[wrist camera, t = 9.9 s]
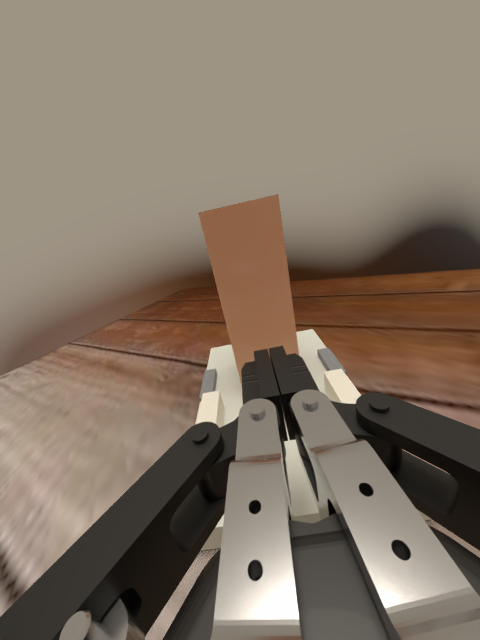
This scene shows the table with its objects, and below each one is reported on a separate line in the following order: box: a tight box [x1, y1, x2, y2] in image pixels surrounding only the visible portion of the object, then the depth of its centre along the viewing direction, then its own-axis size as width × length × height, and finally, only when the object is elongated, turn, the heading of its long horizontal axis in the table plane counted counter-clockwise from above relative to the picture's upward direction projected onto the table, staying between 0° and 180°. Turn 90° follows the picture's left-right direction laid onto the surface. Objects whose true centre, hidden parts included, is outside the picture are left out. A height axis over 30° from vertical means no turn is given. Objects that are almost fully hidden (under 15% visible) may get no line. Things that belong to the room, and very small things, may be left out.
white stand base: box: [195, 329, 431, 551], centre depth 22 cm, size 14×21×4 cm, turn 1°
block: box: [199, 194, 299, 385], centre depth 22 cm, size 6×6×16 cm
